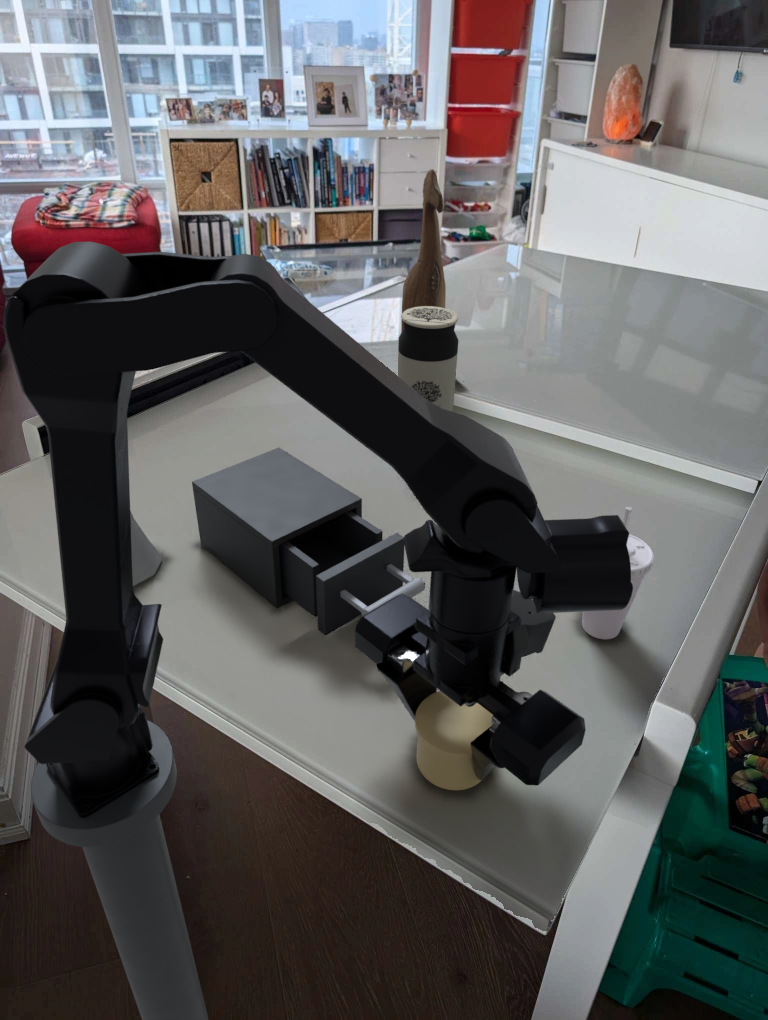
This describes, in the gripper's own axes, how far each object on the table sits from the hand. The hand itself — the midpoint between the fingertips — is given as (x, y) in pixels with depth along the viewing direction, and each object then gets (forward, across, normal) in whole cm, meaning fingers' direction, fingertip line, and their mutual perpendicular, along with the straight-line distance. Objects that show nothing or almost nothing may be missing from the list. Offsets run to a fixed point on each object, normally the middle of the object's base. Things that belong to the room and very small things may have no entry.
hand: (453, 751), depth 62 cm
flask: (+1, +41, +8) cm, 42 cm away
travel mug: (+1, +41, -38) cm, 56 cm away
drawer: (0, +22, -6) cm, 23 cm away
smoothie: (+1, +1, -23) cm, 23 cm away
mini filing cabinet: (+1, +32, -6) cm, 33 cm away
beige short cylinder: (+1, 0, 0) cm, 1 cm away
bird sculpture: (+1, +56, -52) cm, 77 cm away
